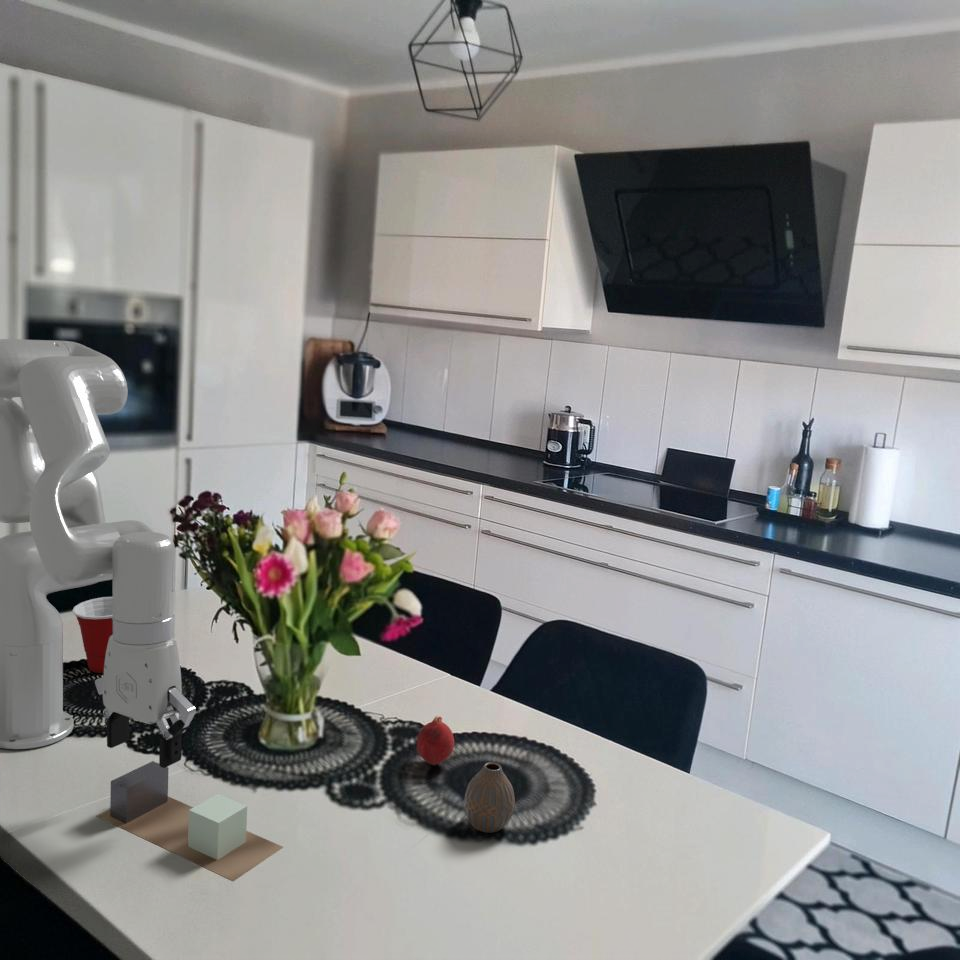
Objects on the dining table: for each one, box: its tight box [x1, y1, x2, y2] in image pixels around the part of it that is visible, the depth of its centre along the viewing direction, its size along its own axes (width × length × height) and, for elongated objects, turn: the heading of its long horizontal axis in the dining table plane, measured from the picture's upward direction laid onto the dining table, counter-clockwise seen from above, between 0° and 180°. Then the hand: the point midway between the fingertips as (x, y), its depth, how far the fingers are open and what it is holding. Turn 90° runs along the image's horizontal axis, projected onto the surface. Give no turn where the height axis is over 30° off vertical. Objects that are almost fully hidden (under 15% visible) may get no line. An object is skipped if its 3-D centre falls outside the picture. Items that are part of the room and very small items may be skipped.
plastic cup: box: [72, 596, 113, 674], centre depth 173 cm, size 11×11×12 cm
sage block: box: [188, 793, 248, 860], centre depth 121 cm, size 5×5×5 cm
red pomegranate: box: [416, 715, 455, 766], centre depth 147 cm, size 6×6×8 cm
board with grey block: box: [96, 760, 284, 882], centre depth 123 cm, size 24×9×6 cm, turn 61°
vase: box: [463, 762, 516, 833], centre depth 131 cm, size 7×7×9 cm
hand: (143, 753), depth 126 cm, fingers open, 9 cm apart
